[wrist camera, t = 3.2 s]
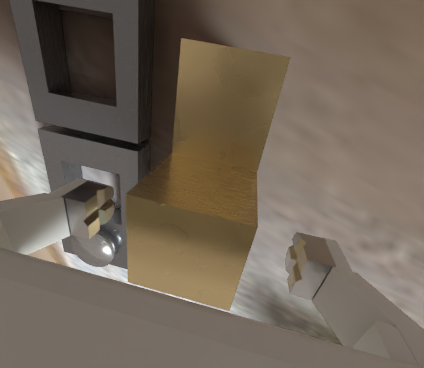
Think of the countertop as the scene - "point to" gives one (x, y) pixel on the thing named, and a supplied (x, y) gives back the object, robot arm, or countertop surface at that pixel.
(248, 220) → the tan bridge piece
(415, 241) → the countertop surface
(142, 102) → the plate
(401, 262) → the countertop surface
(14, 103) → the countertop surface
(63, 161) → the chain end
